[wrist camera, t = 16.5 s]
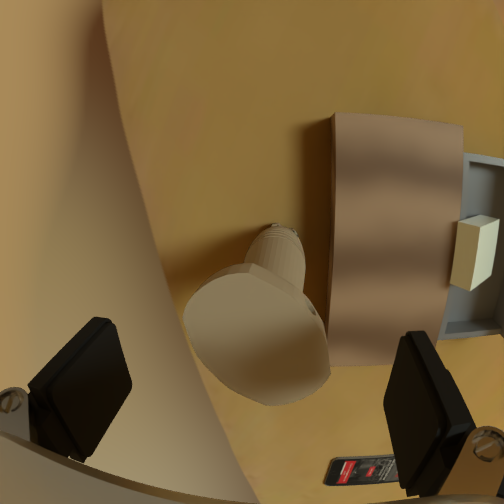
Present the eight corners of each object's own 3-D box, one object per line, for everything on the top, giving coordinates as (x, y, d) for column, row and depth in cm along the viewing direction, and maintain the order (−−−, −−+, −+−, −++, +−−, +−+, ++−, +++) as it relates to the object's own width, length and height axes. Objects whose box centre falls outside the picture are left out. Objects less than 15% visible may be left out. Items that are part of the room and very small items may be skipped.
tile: (458, 221, 20) (480, 227, 19) (480, 214, 23) (499, 219, 21) (449, 283, 22) (469, 291, 20) (473, 268, 24) (491, 275, 22)
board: (330, 117, 23) (335, 112, 20) (446, 127, 21) (462, 125, 19) (322, 347, 29) (324, 366, 26) (421, 344, 27) (431, 361, 25)
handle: (279, 191, 25) (256, 248, 11) (326, 255, 26) (354, 373, 12) (232, 227, 26) (160, 316, 12) (279, 287, 27) (259, 418, 13)
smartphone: (333, 459, 33) (438, 450, 31) (333, 454, 34) (437, 447, 32) (323, 486, 35) (420, 478, 34) (323, 482, 36) (419, 475, 34)
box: (449, 151, 22) (479, 153, 17) (518, 163, 21) (551, 168, 16) (428, 326, 27) (447, 355, 22) (493, 321, 26) (515, 346, 21)
